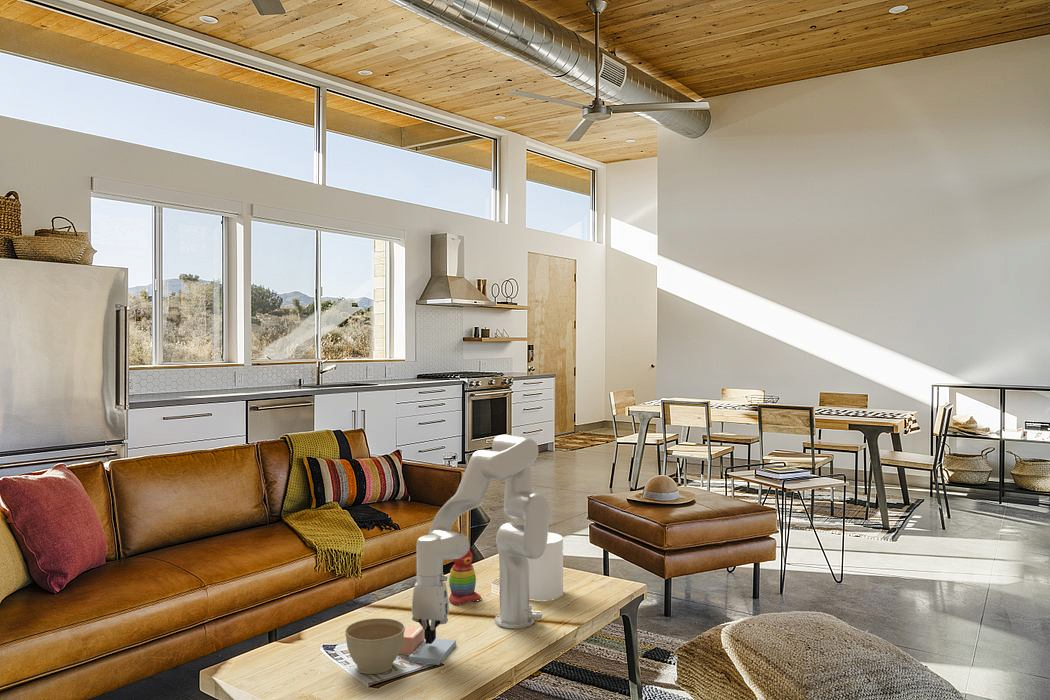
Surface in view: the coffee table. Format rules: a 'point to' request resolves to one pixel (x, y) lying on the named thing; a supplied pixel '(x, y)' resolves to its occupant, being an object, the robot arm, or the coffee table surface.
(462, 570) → the stacking bear
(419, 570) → the robot arm
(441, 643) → the board
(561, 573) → the canister
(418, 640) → the peach rectangular block
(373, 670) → the planter bowl
